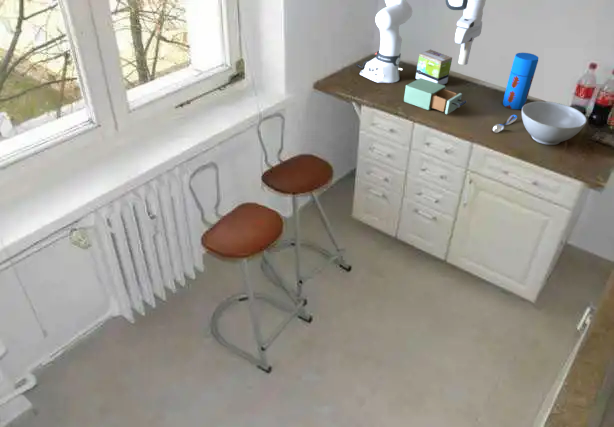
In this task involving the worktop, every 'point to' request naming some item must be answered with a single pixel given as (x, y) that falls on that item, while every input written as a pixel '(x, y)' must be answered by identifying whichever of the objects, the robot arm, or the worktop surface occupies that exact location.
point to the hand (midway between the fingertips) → (465, 48)
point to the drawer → (446, 101)
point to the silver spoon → (501, 126)
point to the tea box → (433, 67)
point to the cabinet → (421, 92)
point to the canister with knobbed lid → (465, 53)
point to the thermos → (520, 80)
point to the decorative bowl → (552, 121)
